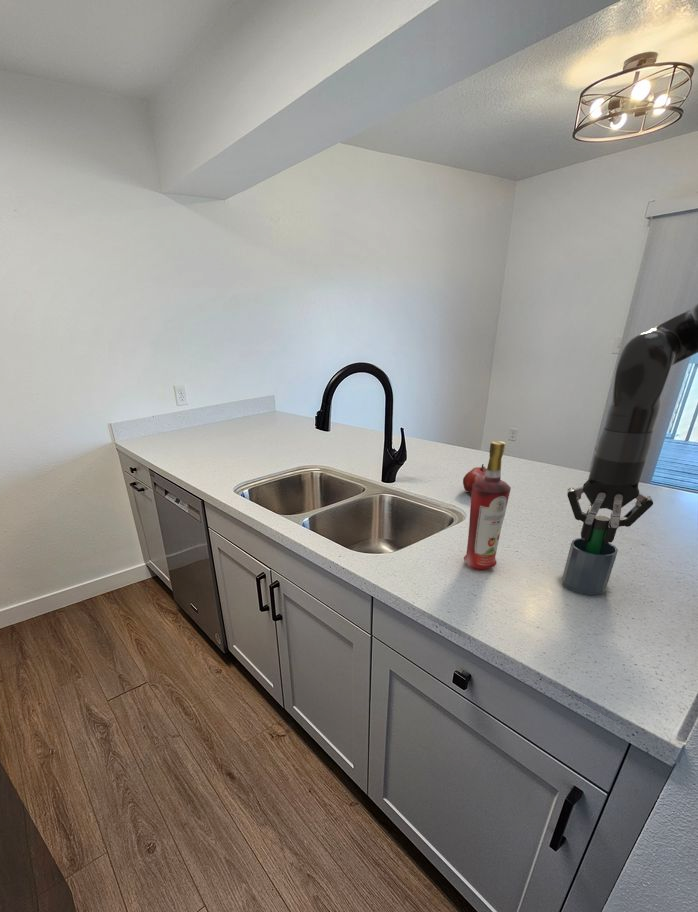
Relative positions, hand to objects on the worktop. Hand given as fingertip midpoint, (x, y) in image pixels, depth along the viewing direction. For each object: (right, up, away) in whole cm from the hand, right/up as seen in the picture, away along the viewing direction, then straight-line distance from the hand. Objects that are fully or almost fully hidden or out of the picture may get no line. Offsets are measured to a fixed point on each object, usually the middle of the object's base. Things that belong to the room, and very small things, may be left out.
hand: (595, 541), depth 84 cm
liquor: (-17, -6, +14) cm, 22 cm away
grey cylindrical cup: (+1, -9, +5) cm, 10 cm away
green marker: (0, -6, +3) cm, 6 cm away
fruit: (0, +15, +53) cm, 55 cm away
